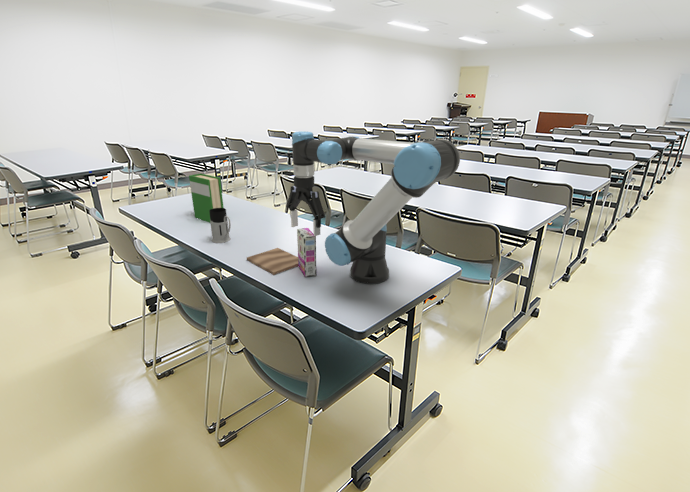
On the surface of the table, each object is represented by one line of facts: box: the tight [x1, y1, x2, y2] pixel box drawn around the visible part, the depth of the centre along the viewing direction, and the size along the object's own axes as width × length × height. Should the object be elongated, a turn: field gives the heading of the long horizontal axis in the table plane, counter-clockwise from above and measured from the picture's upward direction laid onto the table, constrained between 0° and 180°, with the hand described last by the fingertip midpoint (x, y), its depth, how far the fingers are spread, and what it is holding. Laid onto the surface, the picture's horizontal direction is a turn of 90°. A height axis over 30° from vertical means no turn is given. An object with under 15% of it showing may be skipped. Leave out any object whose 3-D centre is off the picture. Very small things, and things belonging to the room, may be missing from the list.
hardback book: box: [188, 173, 225, 224], centre depth 213 cm, size 18×7×24 cm, turn 52°
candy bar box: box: [296, 227, 317, 278], centre depth 152 cm, size 11×5×16 cm, turn 21°
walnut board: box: [246, 247, 299, 276], centre depth 163 cm, size 20×16×1 cm
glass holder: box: [209, 208, 231, 244], centre depth 183 cm, size 9×14×15 cm, turn 47°
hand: (305, 230), depth 149 cm, fingers open, 13 cm apart
